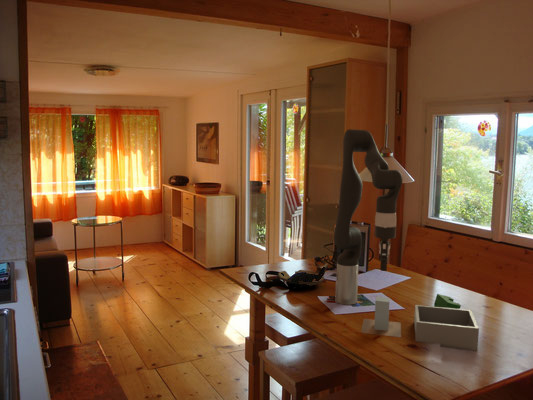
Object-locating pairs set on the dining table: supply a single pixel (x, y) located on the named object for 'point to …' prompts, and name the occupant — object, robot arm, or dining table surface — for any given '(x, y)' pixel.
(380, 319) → the pale grey rectangular block
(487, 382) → the dining table surface
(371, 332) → the stud block
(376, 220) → the robot arm
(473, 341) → the bin
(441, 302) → the clamp
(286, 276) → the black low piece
